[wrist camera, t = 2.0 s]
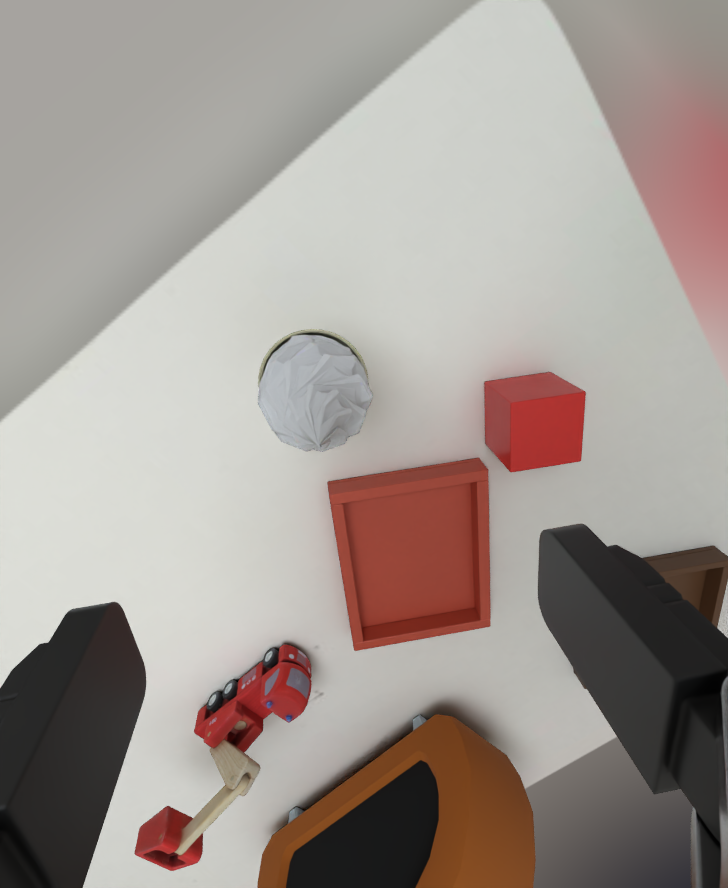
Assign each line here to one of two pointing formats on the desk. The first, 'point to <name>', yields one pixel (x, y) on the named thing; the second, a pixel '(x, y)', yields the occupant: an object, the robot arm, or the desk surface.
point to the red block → (534, 421)
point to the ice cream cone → (314, 390)
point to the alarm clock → (413, 821)
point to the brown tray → (695, 578)
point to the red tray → (414, 551)
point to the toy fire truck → (229, 750)
